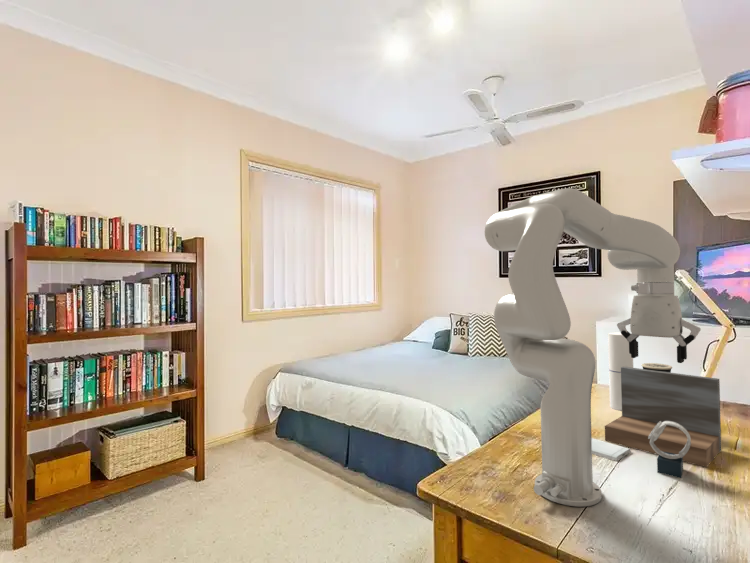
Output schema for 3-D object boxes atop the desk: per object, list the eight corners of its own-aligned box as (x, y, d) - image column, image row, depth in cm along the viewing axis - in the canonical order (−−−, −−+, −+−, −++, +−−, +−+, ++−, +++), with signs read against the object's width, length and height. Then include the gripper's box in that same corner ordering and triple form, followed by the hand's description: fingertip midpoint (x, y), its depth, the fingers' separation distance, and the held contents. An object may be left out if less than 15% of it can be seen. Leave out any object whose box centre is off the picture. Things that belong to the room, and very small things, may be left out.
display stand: (706, 467, 96) (704, 388, 96) (605, 440, 113) (603, 374, 113) (721, 450, 105) (719, 378, 105) (625, 428, 122) (623, 366, 122)
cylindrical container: (605, 405, 144) (603, 332, 144) (624, 404, 145) (622, 332, 145) (619, 411, 137) (617, 335, 137) (639, 410, 138) (637, 334, 138)
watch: (650, 461, 99) (649, 415, 99) (692, 471, 94) (691, 422, 94) (647, 470, 95) (645, 422, 95) (691, 480, 90) (689, 429, 90)
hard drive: (566, 441, 110) (616, 456, 100) (581, 434, 115) (630, 447, 105) (566, 448, 110) (616, 463, 100) (581, 440, 115) (630, 454, 105)
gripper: (611, 290, 106) (612, 357, 106) (695, 290, 93) (696, 366, 93) (622, 289, 111) (623, 353, 111) (703, 289, 98) (704, 362, 98)
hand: (656, 359), depth 102 cm, fingers open, 9 cm apart
